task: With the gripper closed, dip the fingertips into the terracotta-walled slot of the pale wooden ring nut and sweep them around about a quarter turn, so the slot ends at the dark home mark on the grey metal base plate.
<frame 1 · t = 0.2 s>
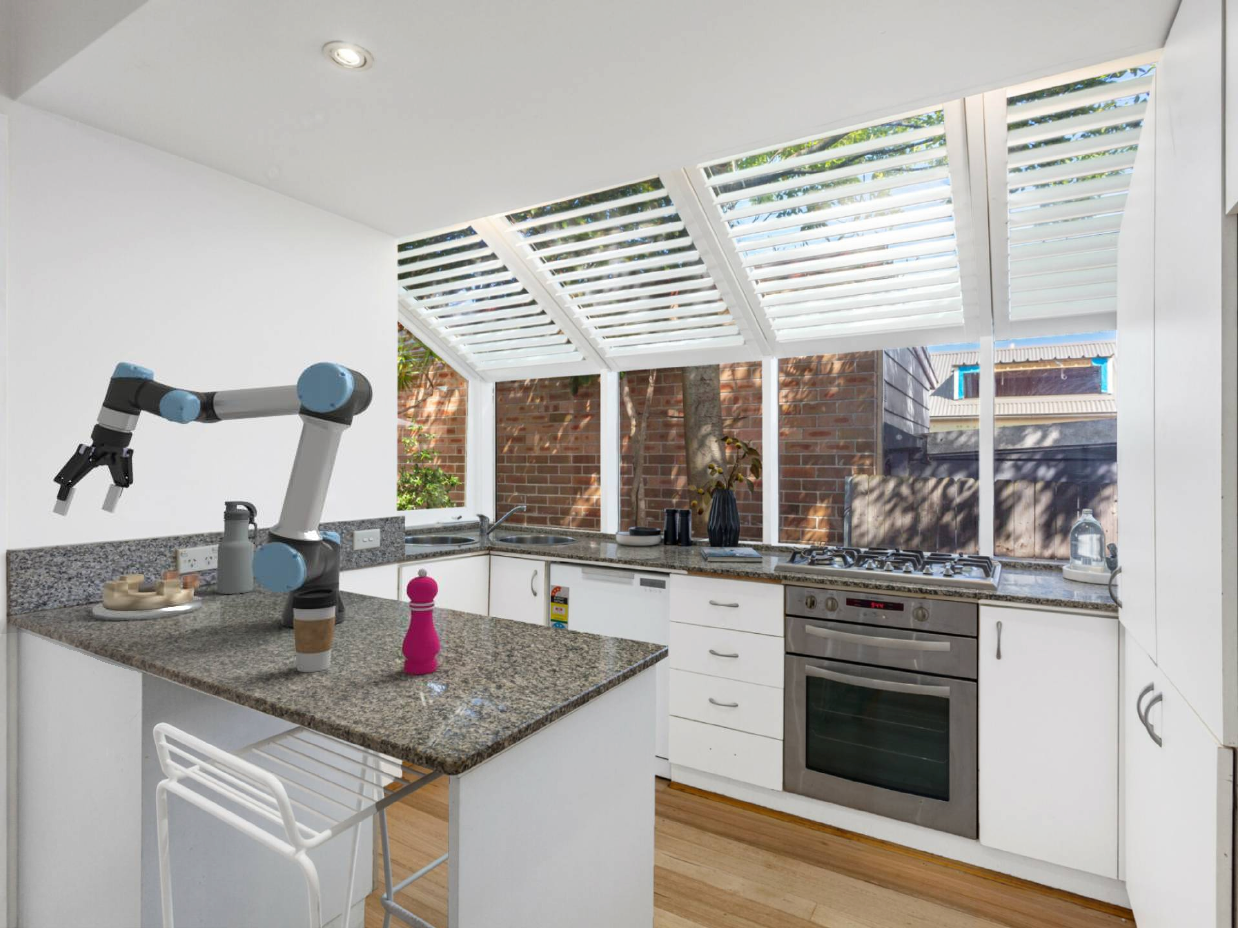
hand: (84, 512, 160), 28 cm above the countertop, tool tilted 20°, fingers open, 13 cm apart
coffee cup: (313, 668, 134), on the countertop
water bottle: (235, 592, 210), on the countertop
ring nut: (149, 589, 182), point 6 cm above the countertop, hinge at 0.0°
pepper mill: (420, 670, 134), on the countertop
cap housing: (149, 610, 182), on the countertop
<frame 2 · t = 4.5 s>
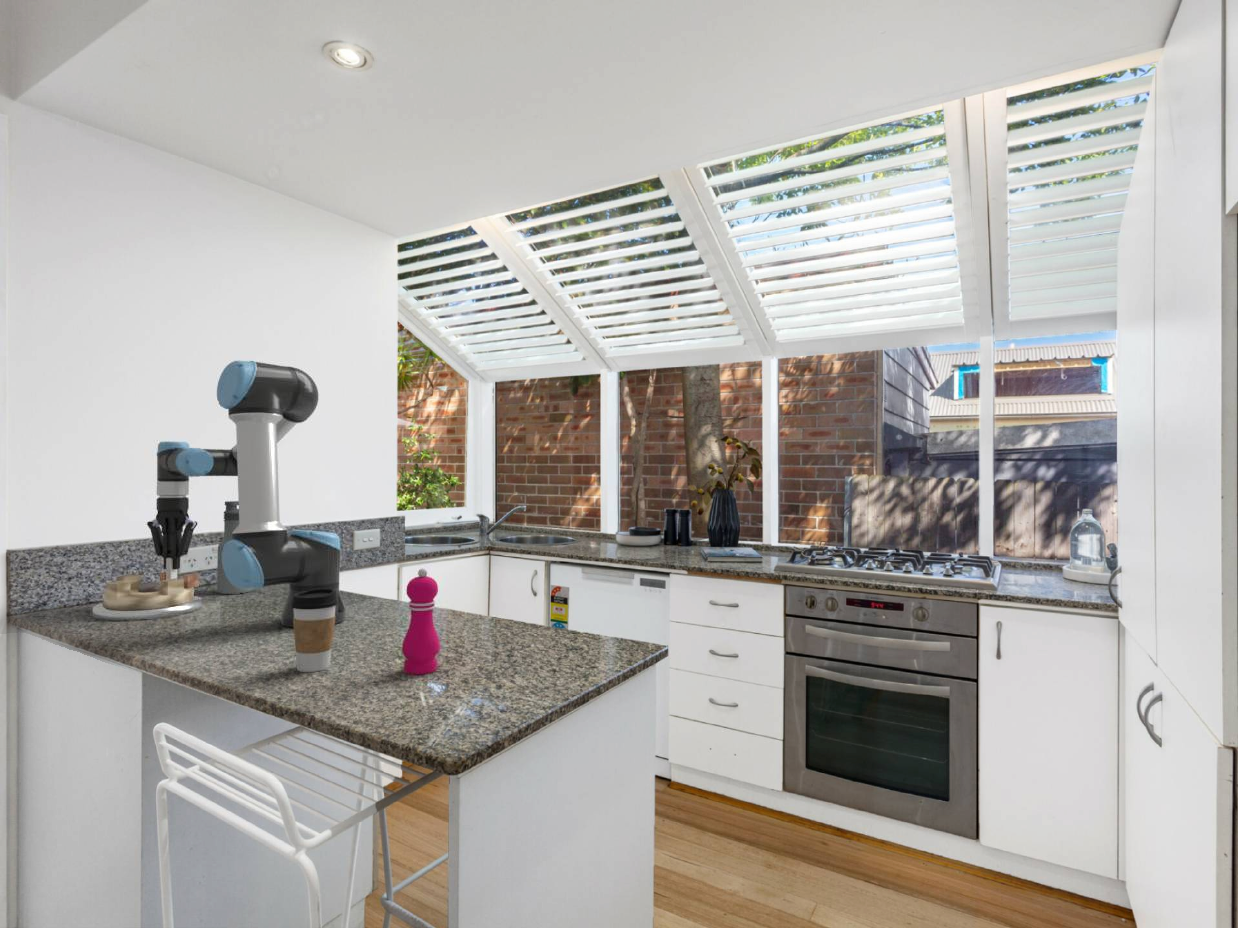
hand: (171, 580, 190), 7 cm above the countertop, tool pointing down, fingers closed
ring nut: (149, 589, 182), point 6 cm above the countertop, hinge at 5.2°, touching gripper
everything else where it was.
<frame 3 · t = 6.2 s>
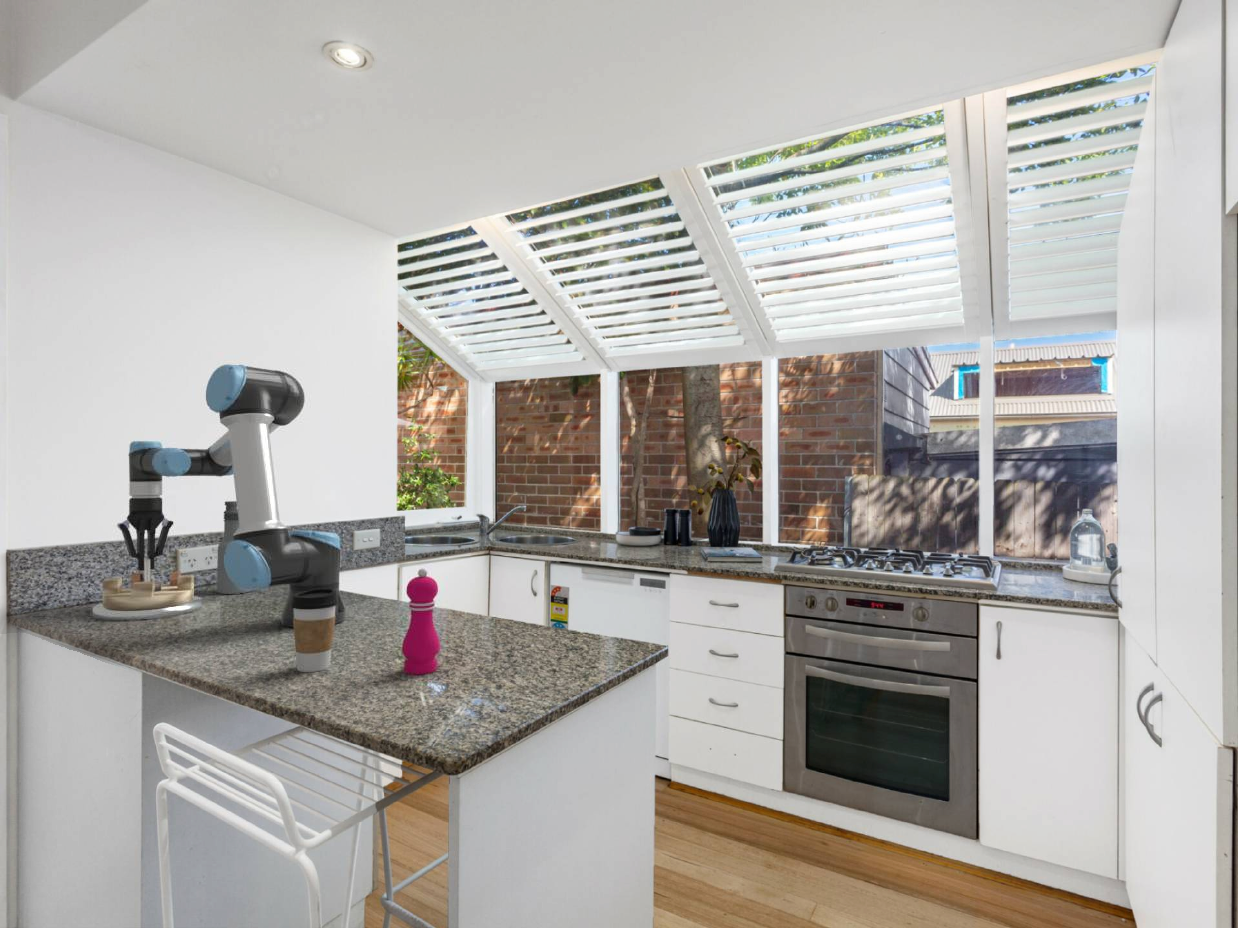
hand: (146, 581, 188), 7 cm above the countertop, tool pointing down, fingers closed
ring nut: (149, 589, 182), point 6 cm above the countertop, hinge at 49.8°, touching gripper
everything else where it was.
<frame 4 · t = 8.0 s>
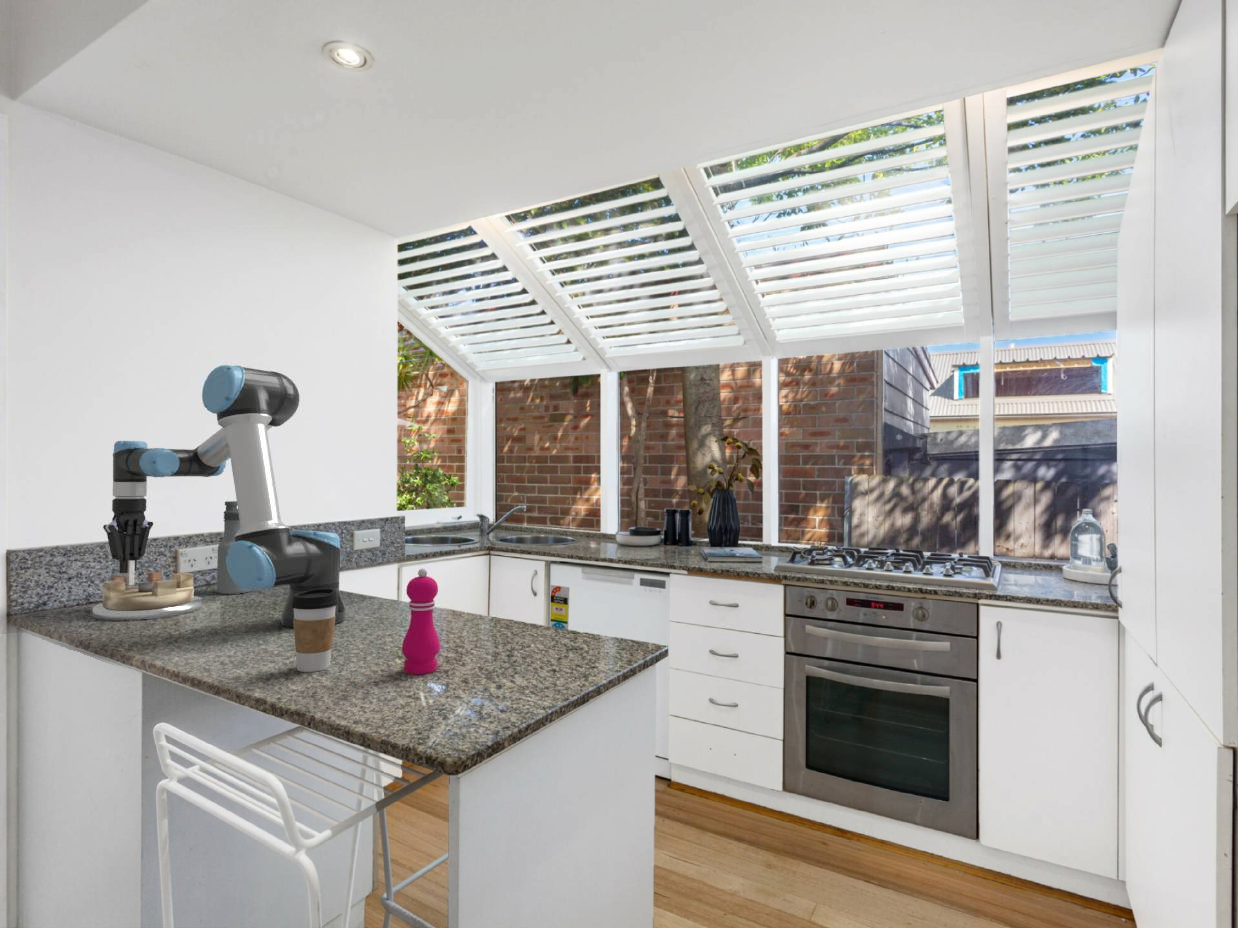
hand: (127, 584, 184), 6 cm above the countertop, tool pointing down, fingers closed
ring nut: (149, 589, 182), point 6 cm above the countertop, hinge at 82.3°
everything else where it was.
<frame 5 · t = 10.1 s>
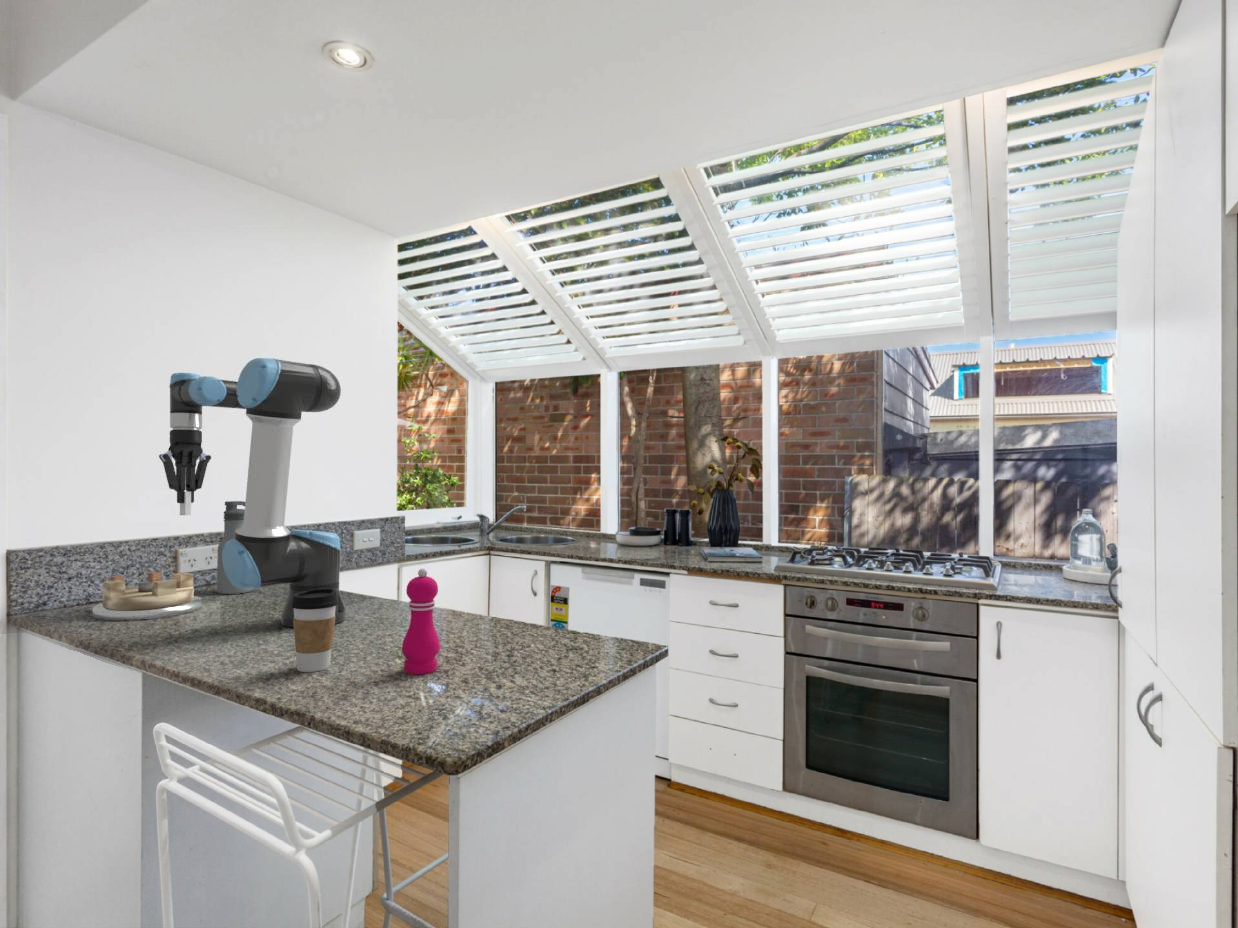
hand: (185, 515, 187), 25 cm above the countertop, tool pointing down, fingers closed
nothing on the countertop moved.
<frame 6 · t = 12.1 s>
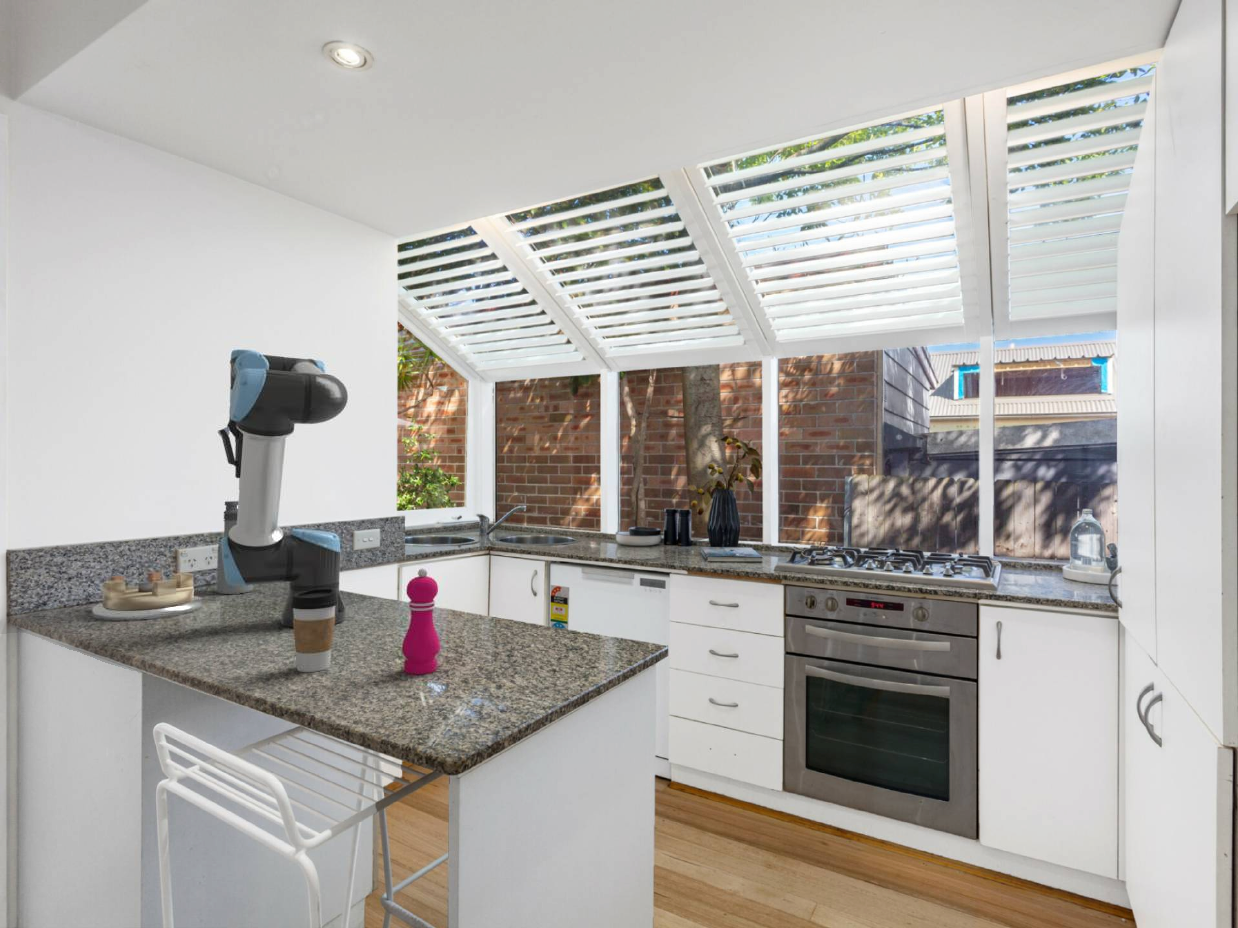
hand: (243, 489, 190), 32 cm above the countertop, tool pointing down, fingers closed
nothing on the countertop moved.
at the end: ring nut at +82° (first picture: +0°); water bottle moved 0.2 cm from its start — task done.
